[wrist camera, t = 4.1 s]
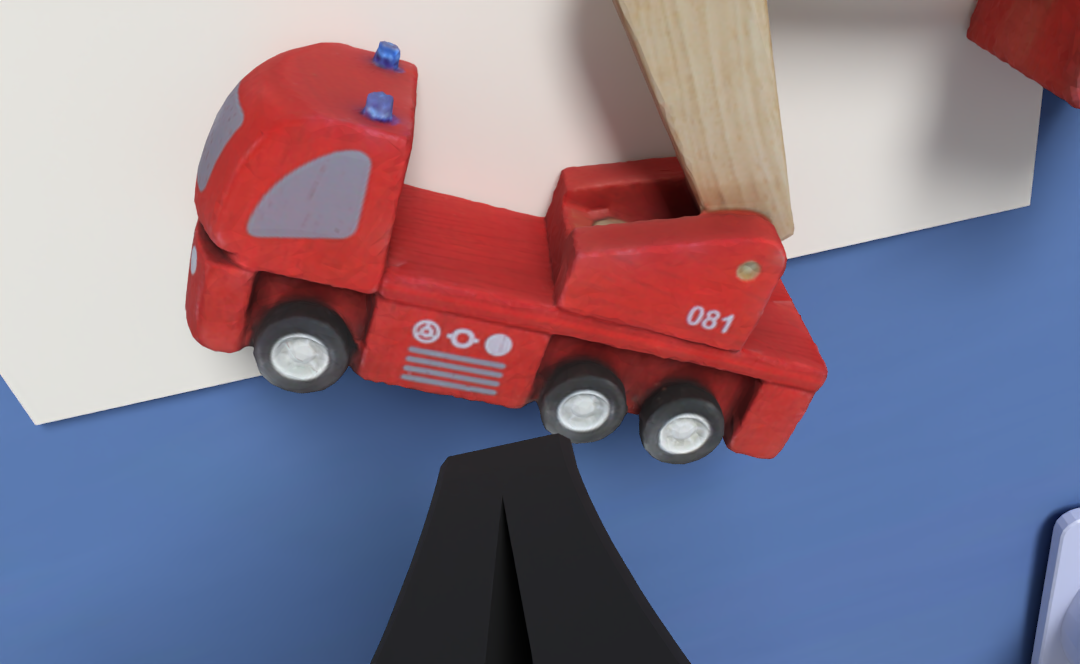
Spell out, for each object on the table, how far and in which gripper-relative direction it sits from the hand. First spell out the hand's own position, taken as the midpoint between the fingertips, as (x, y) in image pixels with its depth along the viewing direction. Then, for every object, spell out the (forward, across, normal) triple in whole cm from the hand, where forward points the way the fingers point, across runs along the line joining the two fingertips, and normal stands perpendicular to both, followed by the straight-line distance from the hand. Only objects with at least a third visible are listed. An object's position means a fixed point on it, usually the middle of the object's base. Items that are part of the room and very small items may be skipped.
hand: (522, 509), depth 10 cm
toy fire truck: (+5, -1, +3) cm, 6 cm away
